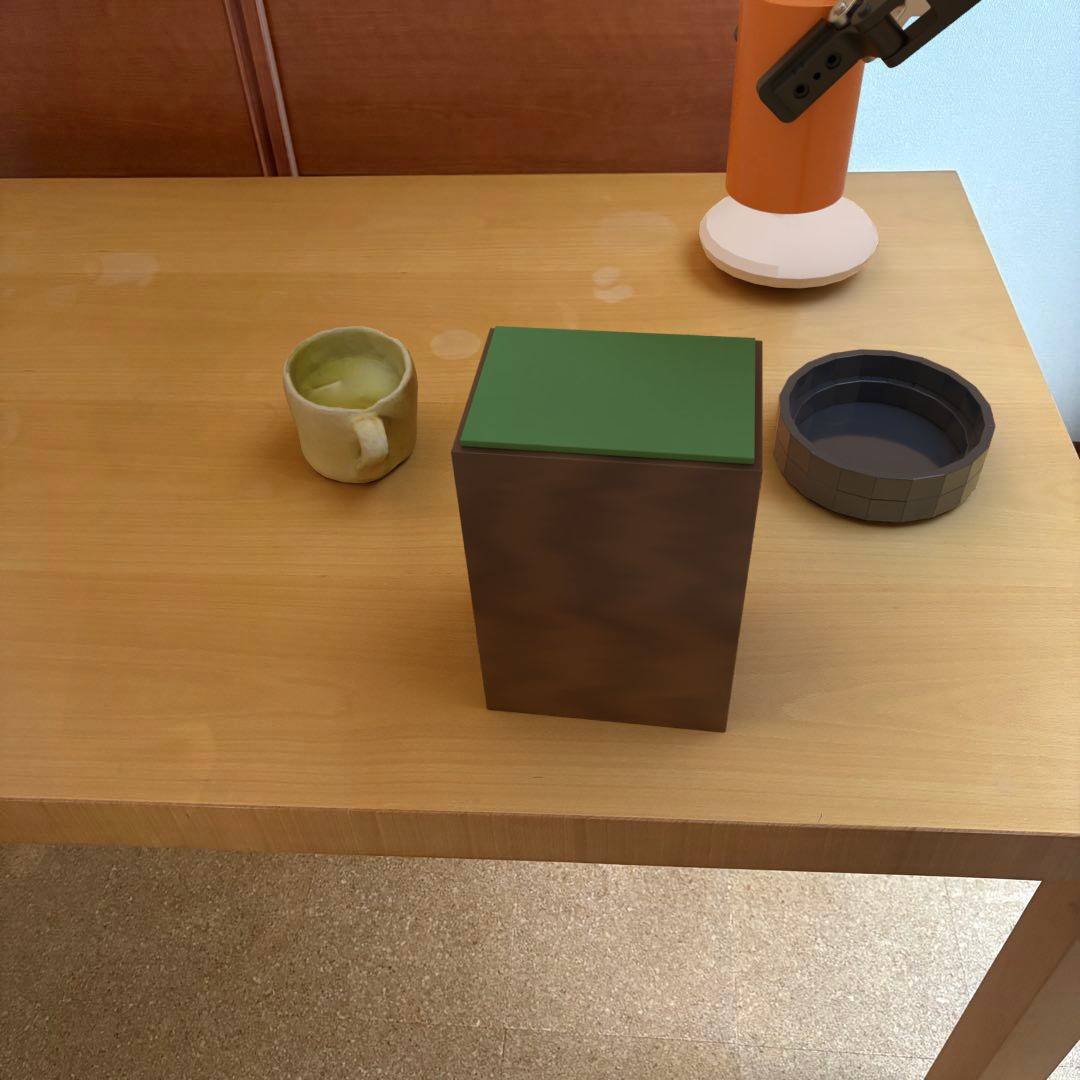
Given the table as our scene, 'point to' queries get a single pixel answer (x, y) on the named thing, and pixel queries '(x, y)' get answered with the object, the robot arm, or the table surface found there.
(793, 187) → the orange can
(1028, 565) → the table surface
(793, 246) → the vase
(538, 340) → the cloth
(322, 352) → the mug
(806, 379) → the pot
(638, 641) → the stand
